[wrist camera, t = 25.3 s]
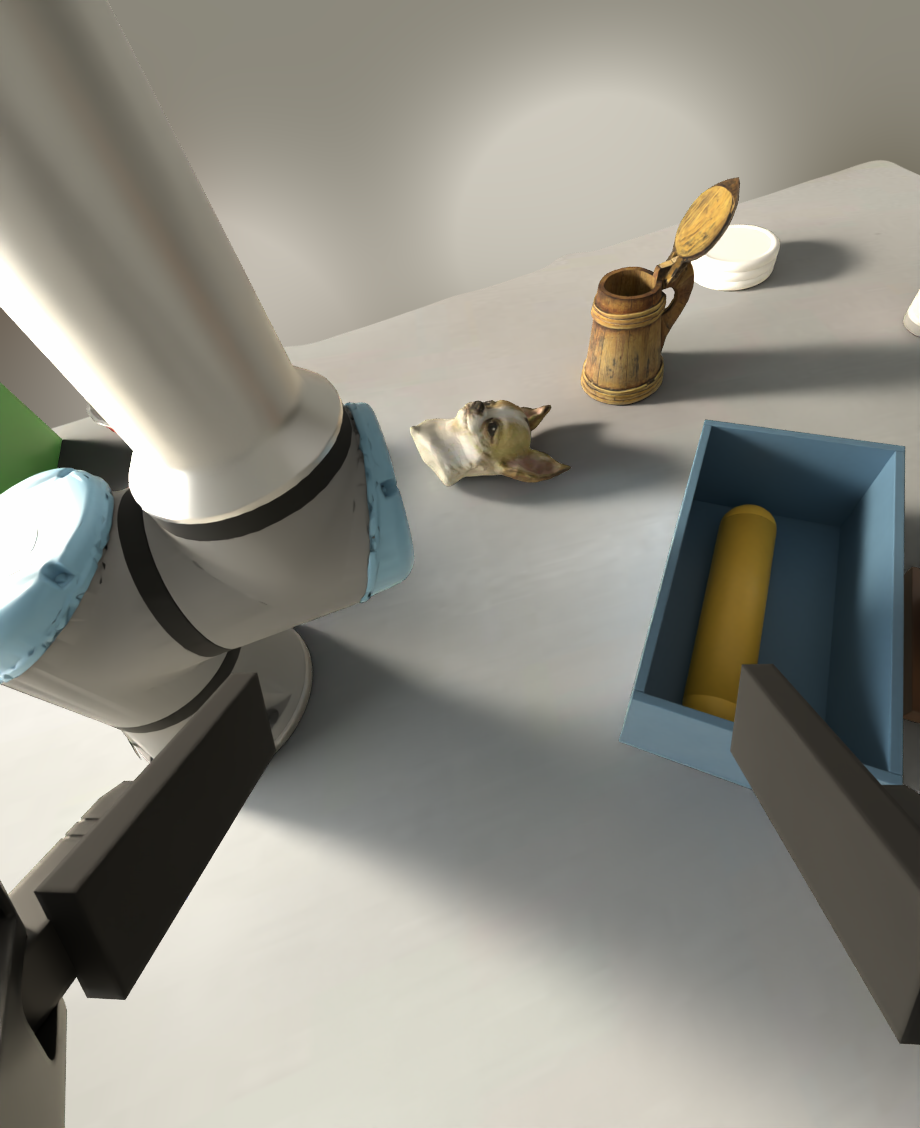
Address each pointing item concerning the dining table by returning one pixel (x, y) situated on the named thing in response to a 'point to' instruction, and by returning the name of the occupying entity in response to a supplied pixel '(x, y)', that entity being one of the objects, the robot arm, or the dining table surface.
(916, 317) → the travel mug
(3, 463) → the cereal box
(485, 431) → the ceramic sculpture
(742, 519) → the yellow capsule
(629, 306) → the wooden mug
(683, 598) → the open box
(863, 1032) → the dining table surface
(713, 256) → the coaster
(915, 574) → the display stand
